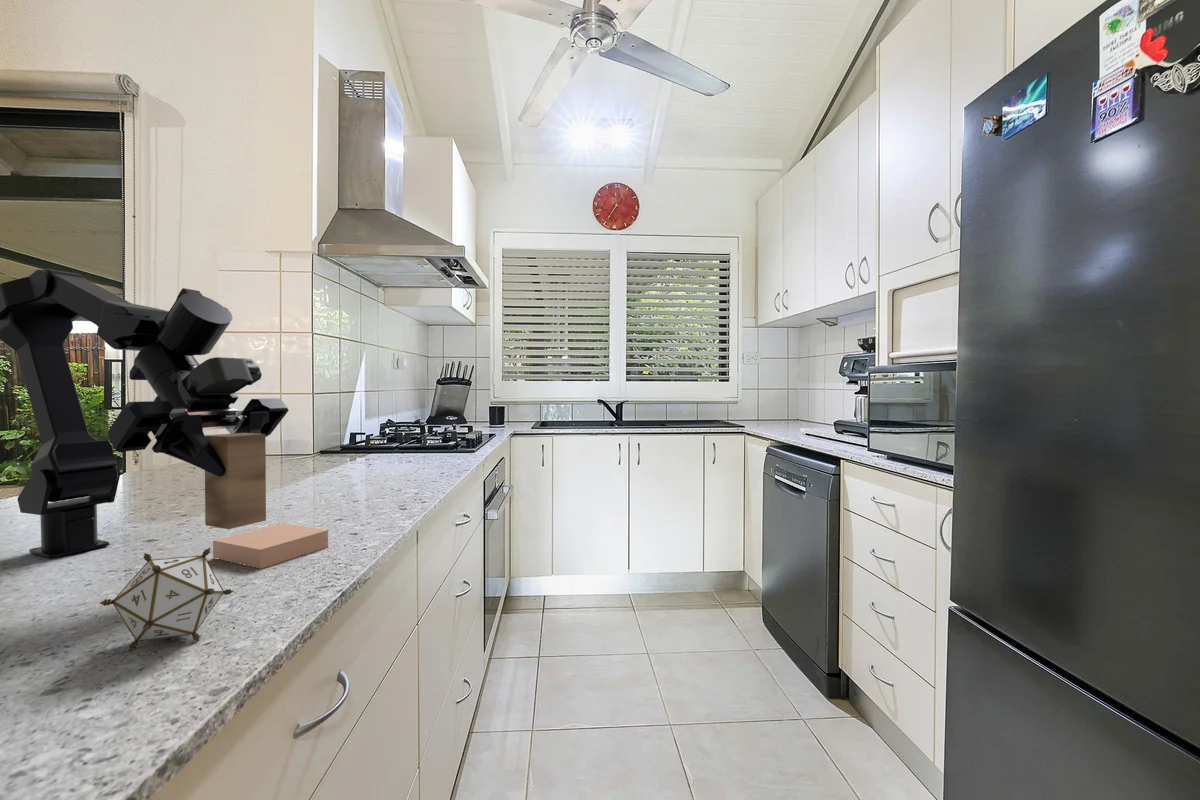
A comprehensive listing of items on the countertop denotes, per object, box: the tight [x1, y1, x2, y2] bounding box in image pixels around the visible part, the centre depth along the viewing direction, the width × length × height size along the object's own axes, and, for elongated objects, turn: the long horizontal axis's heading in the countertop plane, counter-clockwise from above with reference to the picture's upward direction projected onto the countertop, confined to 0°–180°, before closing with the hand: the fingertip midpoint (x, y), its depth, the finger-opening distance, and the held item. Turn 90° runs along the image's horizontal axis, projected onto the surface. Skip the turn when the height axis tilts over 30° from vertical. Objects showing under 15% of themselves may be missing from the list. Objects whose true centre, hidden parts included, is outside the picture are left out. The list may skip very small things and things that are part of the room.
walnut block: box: [204, 433, 267, 530], centre depth 64 cm, size 4×4×11 cm
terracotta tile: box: [212, 522, 329, 570], centre depth 74 cm, size 10×10×2 cm
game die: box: [99, 547, 235, 652], centre depth 49 cm, size 9×8×10 cm
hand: (243, 470), depth 64 cm, fingers closed on walnut block, 5 cm apart
